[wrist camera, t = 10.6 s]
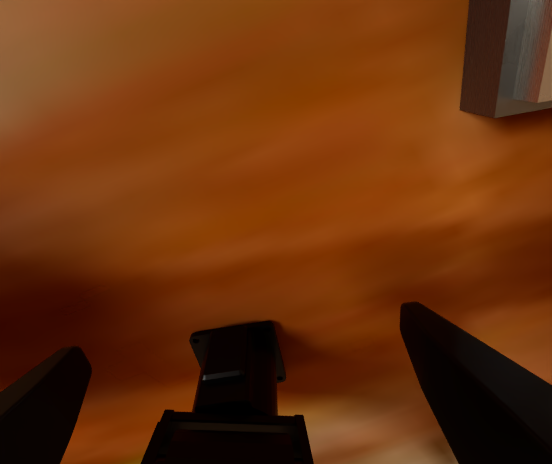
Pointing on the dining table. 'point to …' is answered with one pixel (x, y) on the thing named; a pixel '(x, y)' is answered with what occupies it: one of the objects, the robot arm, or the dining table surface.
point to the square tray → (507, 57)
